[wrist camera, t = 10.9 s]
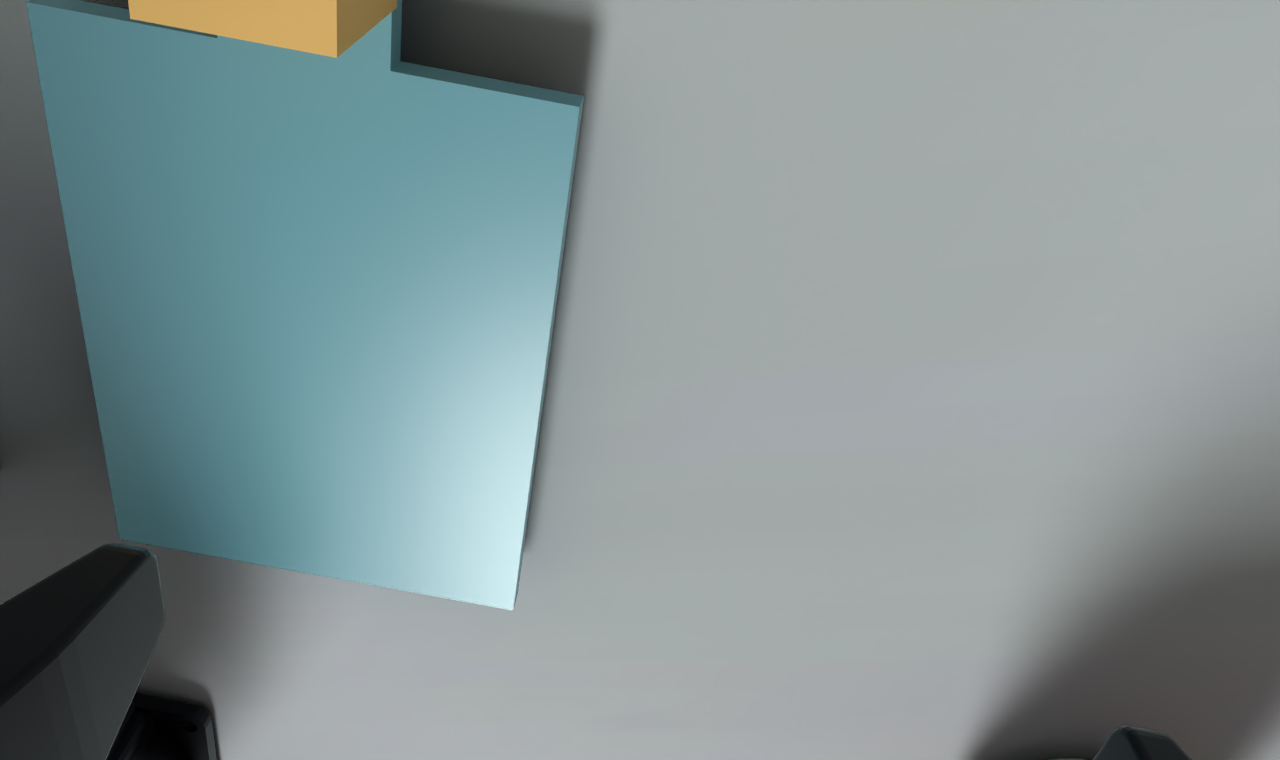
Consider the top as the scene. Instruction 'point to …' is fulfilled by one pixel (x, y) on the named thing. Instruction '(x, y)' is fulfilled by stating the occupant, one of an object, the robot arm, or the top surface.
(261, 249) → the lid
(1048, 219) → the top surface
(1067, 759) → the soda can
